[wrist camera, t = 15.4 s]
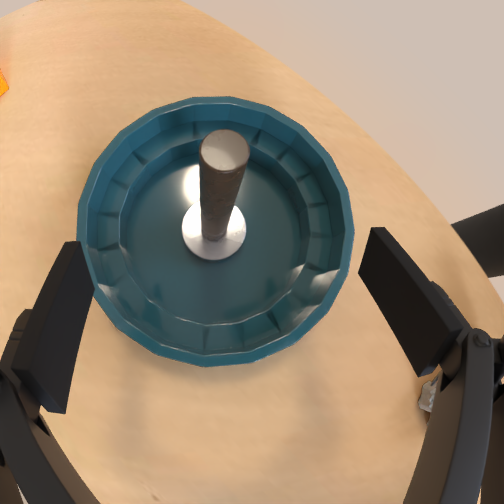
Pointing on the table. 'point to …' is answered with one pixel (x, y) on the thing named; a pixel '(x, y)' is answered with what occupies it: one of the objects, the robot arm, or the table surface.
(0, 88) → the orange juice
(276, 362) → the table surface
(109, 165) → the bowl
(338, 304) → the table surface
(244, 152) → the brown rod
